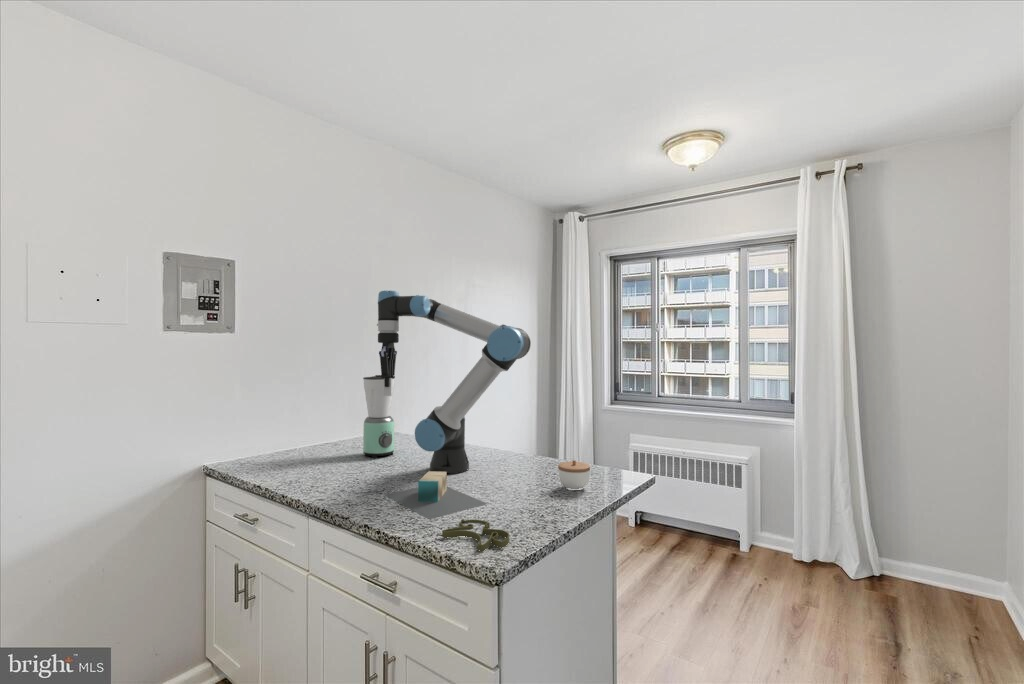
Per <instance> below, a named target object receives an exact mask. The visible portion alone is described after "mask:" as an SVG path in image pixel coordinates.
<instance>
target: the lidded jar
mask: <svg viewBox="0 0 1024 684" xmlns="http://www.w3.org/2000/svg"><path fill="white" fill-rule="evenodd" d="M557 467H558V468H557V469H558V478H559V481H560V484H561V485H562V486H563V487H564V488H565V487H566V488H571V489H579V488H583V487H584V488H585V487H586V486H587V484H588V483H589V481H590V477H591V476H590V475H591V465H590V464H589V463H586V462H581V461H576V460H575V459H572V461H564V462H560V463H558V465H557ZM584 488H583V489H584Z"/></svg>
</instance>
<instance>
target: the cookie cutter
mask: <svg viewBox="0 0 1024 684" xmlns="http://www.w3.org/2000/svg"><path fill="white" fill-rule="evenodd" d="M463 523H464V524H466V525H464V524H463ZM467 523H468V524H467ZM472 523H480V524H484V526H483V527H482V535H483V534H486V535H485V536H487V535H491V536H489V538H488V540H487V541H486V542H484V543H482V536H481V535H480V534H479V533H477V532H475V531H471V530H472V529H474V524H472ZM488 528H489V529H488ZM441 534H442V535H441V536H443V537H444V539H445V538H446V539H448V538H447V537H454V538H458V537H457V536H465V537H464V538H467V537H472V538H475V539H477V540H478V541H479V542H478V541H477V540H476V541H477V542H478V543H477V551H478V550H480V551H484V550H485V549H487V548H488V547H489V548H490V546H491V545H492V544H493V545H495V546H498V547H501V548H502V547H504V546H506V545H507V544H508V543H509V544H510V533H509V532H508V531H506V530H504V529H497V528H495V529H494V528H490V522H489V521H485V520H482V519H466V520H465V519H460V522H459V526H457V527H451V528H445V529H443V530H442V531H441ZM498 535H499V536H498ZM466 536H467V537H466ZM500 536H503V537H502V538H504V537H506V538H504V540H499V537H500ZM443 537H442V538H443ZM472 538H471V539H472ZM475 539H474V540H475ZM491 542H492V543H491ZM490 544H491V545H490ZM509 544H508V545H509ZM489 545H490V546H489ZM493 545H492V546H493ZM508 545H507V546H508ZM495 546H494V547H495ZM507 546H506V547H507ZM498 547H497V548H498ZM489 548H488V549H489ZM501 548H500V549H501ZM504 548H505V547H504ZM488 549H487V550H488ZM502 549H503V548H502ZM480 551H479V552H480ZM485 551H486V550H485ZM485 551H484V552H485Z"/></svg>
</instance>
